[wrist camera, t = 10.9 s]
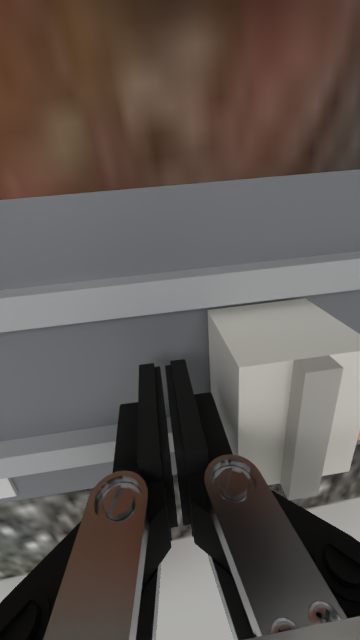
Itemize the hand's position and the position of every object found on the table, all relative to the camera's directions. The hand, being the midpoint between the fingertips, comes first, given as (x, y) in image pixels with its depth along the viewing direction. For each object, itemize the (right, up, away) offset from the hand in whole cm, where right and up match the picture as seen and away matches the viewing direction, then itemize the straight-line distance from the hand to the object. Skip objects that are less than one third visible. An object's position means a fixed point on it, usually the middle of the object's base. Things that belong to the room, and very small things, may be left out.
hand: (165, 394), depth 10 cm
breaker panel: (0, +1, +3) cm, 4 cm away
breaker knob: (+4, +1, +2) cm, 4 cm away
